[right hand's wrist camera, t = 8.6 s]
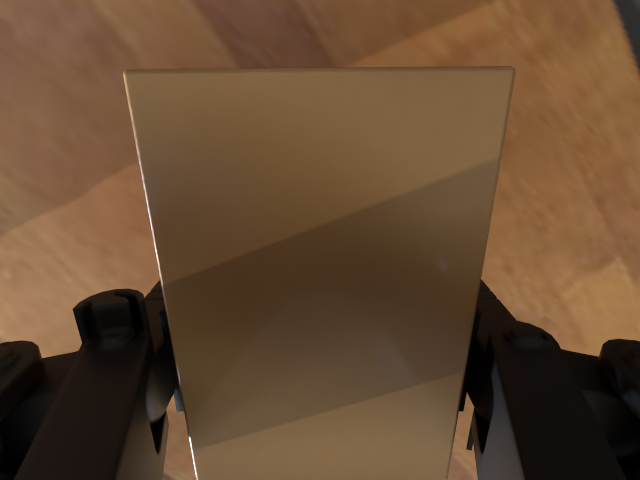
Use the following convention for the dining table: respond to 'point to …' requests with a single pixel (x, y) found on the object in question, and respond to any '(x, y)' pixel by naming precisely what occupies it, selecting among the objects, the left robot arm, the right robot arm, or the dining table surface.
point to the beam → (320, 258)
